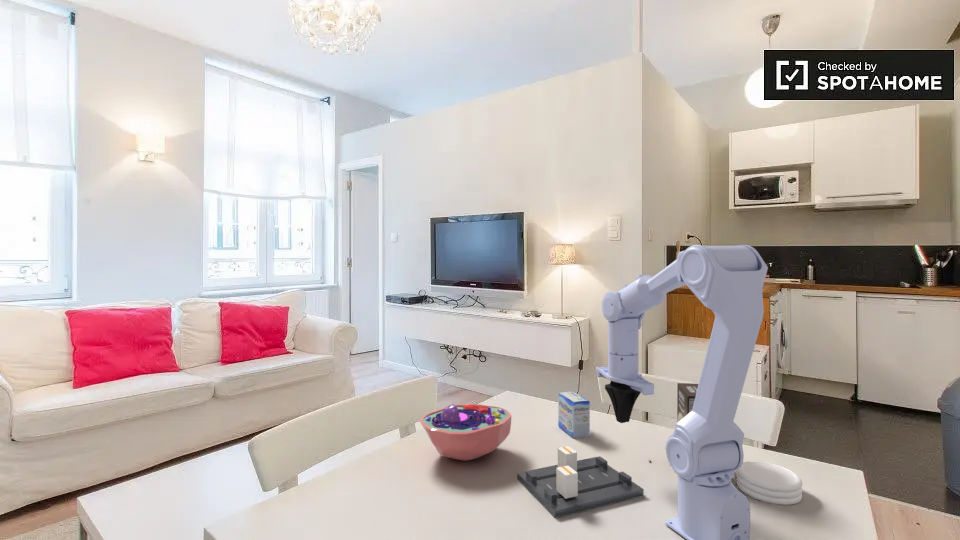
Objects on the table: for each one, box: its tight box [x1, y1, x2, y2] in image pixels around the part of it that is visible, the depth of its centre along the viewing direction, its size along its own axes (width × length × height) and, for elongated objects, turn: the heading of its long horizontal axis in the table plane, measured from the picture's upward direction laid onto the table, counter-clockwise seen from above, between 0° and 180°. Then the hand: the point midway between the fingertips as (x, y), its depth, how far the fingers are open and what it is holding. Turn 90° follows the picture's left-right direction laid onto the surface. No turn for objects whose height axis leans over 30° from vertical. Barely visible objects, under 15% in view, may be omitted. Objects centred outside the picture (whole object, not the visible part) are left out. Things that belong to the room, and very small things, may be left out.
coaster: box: [736, 460, 803, 506], centre depth 82 cm, size 10×10×4 cm
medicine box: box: [557, 391, 591, 439], centre depth 110 cm, size 8×4×9 cm, turn 17°
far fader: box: [557, 446, 578, 472], centre depth 87 cm, size 3×2×4 cm
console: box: [516, 456, 645, 519], centre depth 84 cm, size 14×18×2 cm
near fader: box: [556, 466, 578, 499], centre depth 79 cm, size 3×2×4 cm
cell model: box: [419, 403, 512, 462], centre depth 98 cm, size 17×20×11 cm
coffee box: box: [676, 382, 699, 424], centre depth 90 cm, size 9×6×16 cm
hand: (622, 421), depth 90 cm, fingers closed
